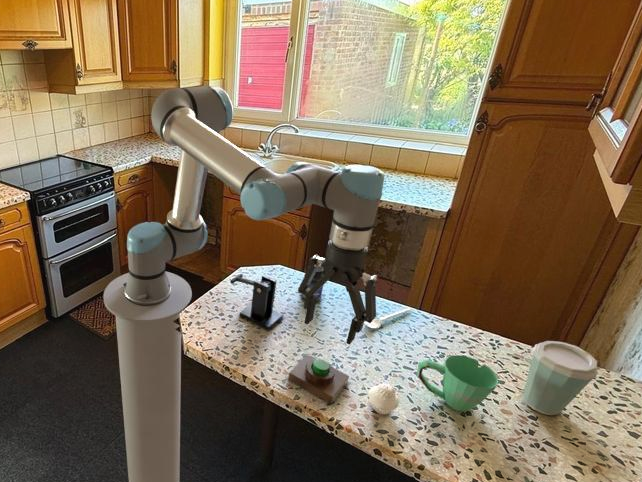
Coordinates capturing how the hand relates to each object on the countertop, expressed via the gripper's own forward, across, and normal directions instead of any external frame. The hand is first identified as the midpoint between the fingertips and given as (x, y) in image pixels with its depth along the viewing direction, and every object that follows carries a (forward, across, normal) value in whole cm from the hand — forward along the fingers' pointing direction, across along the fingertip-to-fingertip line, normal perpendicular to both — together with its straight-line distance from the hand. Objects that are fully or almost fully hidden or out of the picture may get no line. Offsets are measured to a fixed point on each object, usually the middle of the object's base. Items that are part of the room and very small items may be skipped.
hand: (328, 330), depth 91 cm
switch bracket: (+16, -24, +12) cm, 31 cm away
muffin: (+16, +14, +2) cm, 21 cm away
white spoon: (+16, +4, +37) cm, 40 cm away
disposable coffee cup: (+16, +40, +29) cm, 52 cm away
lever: (+6, -28, +12) cm, 31 cm away
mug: (+16, +24, +15) cm, 32 cm away
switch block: (+16, 0, 0) cm, 16 cm away
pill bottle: (+16, -18, +32) cm, 40 cm away
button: (+12, 0, 0) cm, 12 cm away
